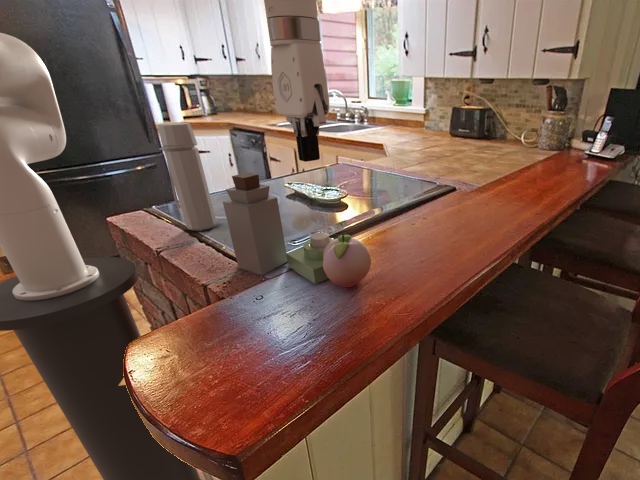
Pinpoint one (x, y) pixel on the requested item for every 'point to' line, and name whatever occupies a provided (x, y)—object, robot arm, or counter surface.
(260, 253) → the perfume bottle
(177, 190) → the water bottle
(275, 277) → the counter surface
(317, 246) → the beige button cap
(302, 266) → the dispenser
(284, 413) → the counter surface
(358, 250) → the decorative fruit
